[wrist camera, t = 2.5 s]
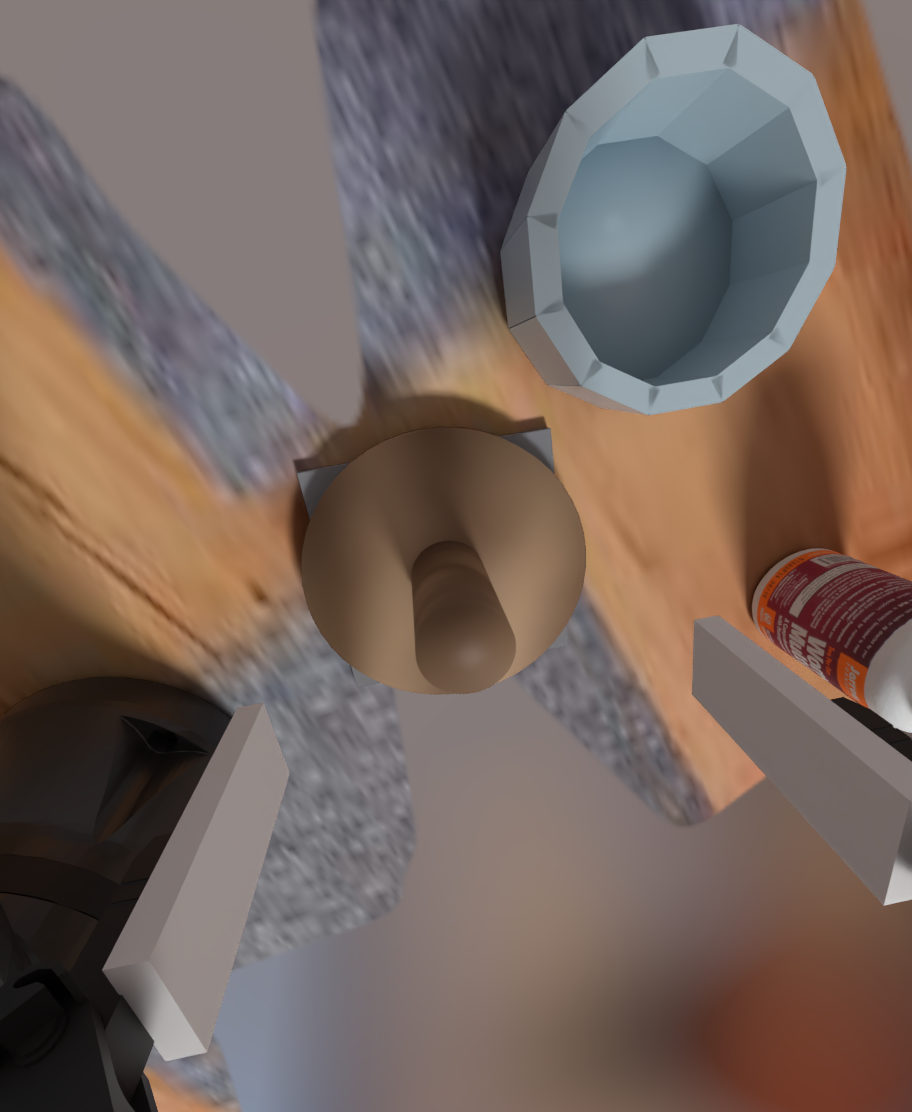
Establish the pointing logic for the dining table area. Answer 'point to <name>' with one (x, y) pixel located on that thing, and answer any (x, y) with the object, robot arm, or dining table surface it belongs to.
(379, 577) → the lid
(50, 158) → the dining table surface
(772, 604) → the pill bottle
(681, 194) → the bowl
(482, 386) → the dining table surface
